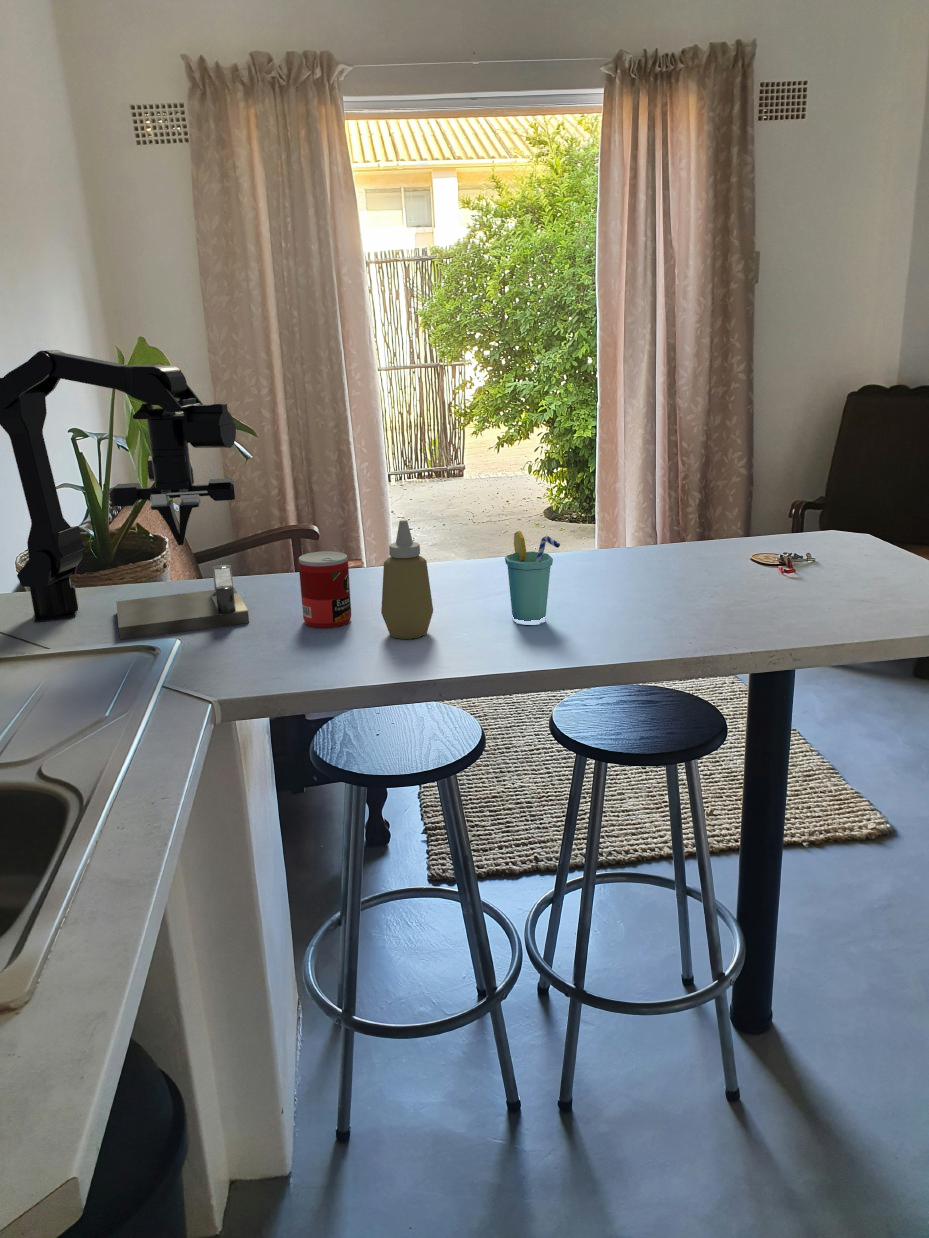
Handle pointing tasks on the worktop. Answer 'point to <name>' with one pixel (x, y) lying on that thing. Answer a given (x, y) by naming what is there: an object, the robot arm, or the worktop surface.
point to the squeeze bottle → (406, 588)
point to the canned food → (325, 589)
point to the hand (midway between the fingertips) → (181, 544)
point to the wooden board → (175, 614)
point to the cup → (529, 579)
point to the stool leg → (224, 589)
